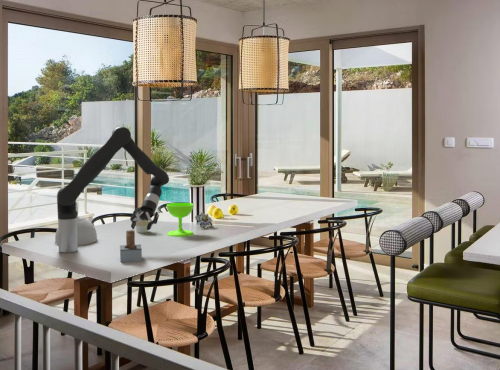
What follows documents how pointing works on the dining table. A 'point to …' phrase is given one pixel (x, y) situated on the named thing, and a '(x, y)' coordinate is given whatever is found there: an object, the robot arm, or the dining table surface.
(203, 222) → the passion flower
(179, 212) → the wineglass
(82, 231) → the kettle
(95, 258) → the dining table surface
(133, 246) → the walnut peg
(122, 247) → the collar
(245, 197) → the dining table surface
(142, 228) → the coffee cup
